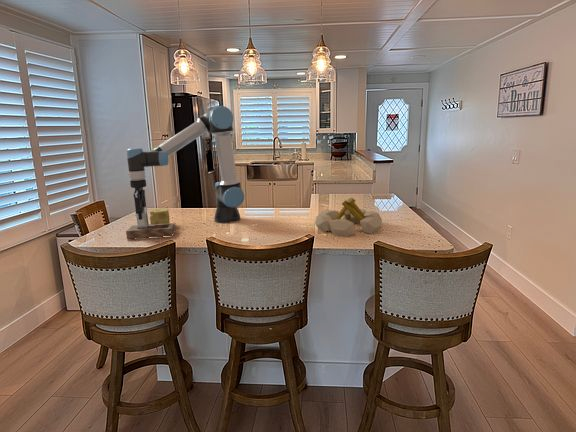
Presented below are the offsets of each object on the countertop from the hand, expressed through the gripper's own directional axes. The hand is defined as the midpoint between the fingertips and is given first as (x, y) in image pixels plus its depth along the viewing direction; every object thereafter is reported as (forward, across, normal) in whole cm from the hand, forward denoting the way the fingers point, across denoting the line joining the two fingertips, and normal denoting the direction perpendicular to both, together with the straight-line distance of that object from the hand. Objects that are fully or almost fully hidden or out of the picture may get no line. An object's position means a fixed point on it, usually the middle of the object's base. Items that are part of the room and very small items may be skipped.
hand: (142, 224), depth 209 cm
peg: (+5, 0, 0) cm, 5 cm away
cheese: (+7, -18, +5) cm, 20 cm away
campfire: (+7, +8, +106) cm, 107 cm away
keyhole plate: (+6, 0, +4) cm, 7 cm away
